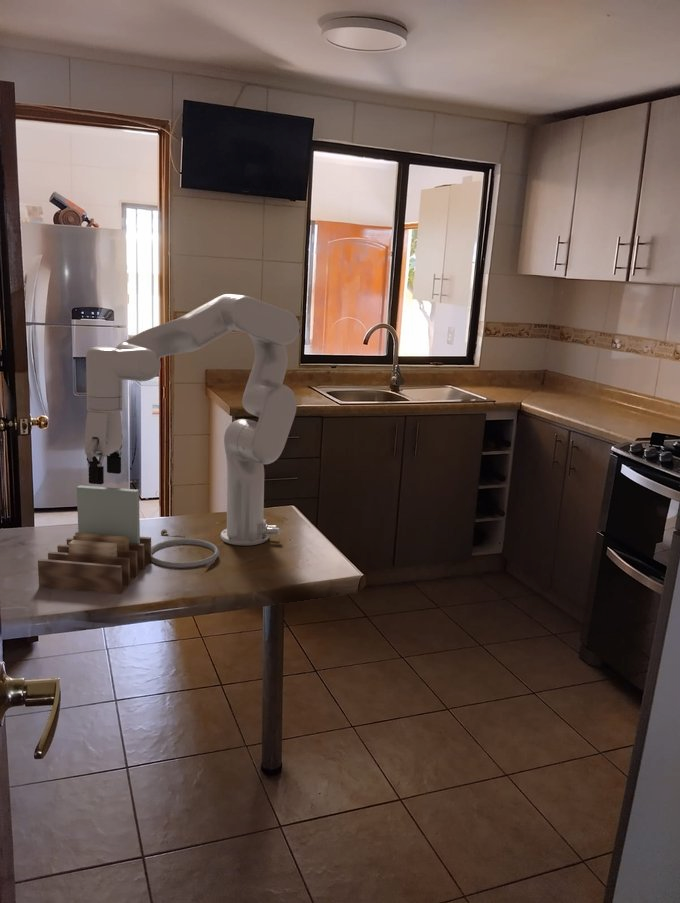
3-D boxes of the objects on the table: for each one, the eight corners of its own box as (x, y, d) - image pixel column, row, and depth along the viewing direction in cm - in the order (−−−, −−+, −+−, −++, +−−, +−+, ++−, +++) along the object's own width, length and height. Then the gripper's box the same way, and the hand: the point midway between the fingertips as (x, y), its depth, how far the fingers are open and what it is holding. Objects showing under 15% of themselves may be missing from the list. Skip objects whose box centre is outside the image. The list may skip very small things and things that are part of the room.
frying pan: (194, 522, 200) (228, 556, 176) (194, 532, 200) (228, 568, 176) (130, 529, 192) (156, 566, 168) (130, 540, 193) (157, 578, 168)
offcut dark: (129, 570, 169) (128, 537, 167) (125, 573, 167) (124, 540, 165) (78, 565, 170) (77, 532, 168) (74, 569, 168) (73, 536, 166)
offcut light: (117, 577, 165) (116, 543, 163) (113, 581, 163) (112, 546, 161) (74, 573, 166) (73, 539, 164) (69, 577, 163) (68, 543, 162)
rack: (151, 565, 175) (151, 537, 173) (120, 598, 157) (119, 567, 155) (78, 559, 176) (77, 531, 175) (39, 591, 158) (37, 560, 157)
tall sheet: (140, 563, 173) (138, 489, 169) (137, 566, 171) (136, 491, 167) (82, 559, 174) (79, 485, 170) (79, 561, 172) (76, 487, 168)
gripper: (104, 396, 173) (105, 468, 176) (70, 408, 156) (72, 486, 160) (135, 399, 172) (135, 470, 176) (105, 410, 155) (105, 489, 159)
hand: (105, 478), depth 168 cm, fingers open, 9 cm apart
